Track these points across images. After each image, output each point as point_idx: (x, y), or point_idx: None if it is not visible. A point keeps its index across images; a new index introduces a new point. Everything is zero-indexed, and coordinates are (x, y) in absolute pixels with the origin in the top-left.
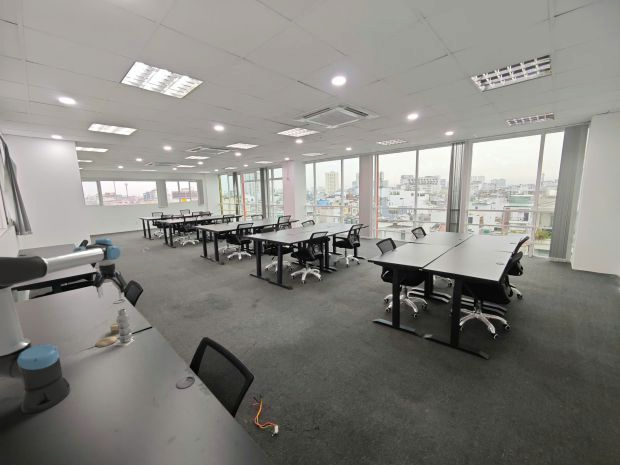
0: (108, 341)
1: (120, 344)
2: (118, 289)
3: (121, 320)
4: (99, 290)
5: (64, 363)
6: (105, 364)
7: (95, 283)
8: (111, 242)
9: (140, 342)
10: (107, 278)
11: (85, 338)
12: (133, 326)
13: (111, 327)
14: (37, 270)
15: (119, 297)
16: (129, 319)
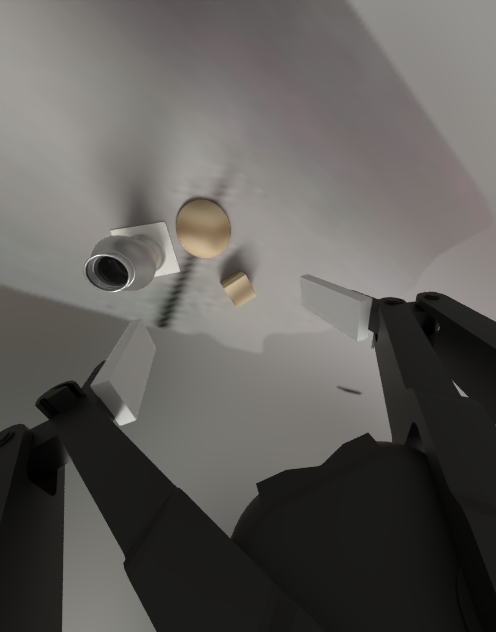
0: (197, 230)
1: (142, 229)
2: (113, 369)
3: (98, 242)
4: (337, 298)
5: (206, 80)
6: (35, 97)
7: (441, 317)
8: None
9: (86, 259)
10: (324, 482)
11: (287, 229)
12: (216, 317)
13: (242, 275)
14: None
15: (139, 322)
16: (111, 280)
